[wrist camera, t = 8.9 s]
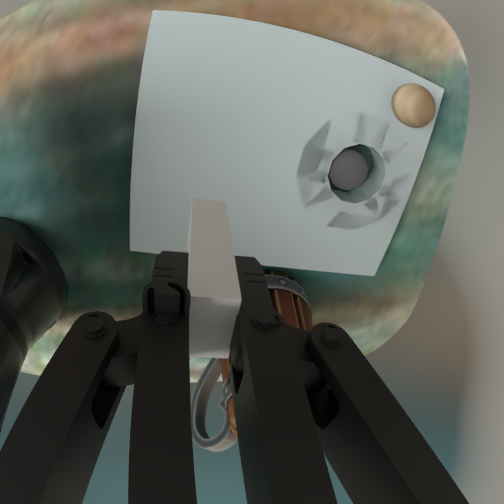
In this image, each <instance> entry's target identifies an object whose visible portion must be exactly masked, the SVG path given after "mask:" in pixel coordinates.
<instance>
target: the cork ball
mask: <svg viewBox="0 0 504 504" xmlns="http://www.w3.org/2000/svg"><path fill="white" fill-rule="evenodd" d="M391 105H392V110H393V113H394V115H395V116H396V118H397V119H398V120H399V121H400V122H401V123H403V124H404V125H406V126H408V127H411V128H421V127H424V126H426V125H428V124H429V123H430V122H431V121H432V119H433V118H434V115H435V111H436V105H435V101H434V99H433V97H432V95H431V93H430V92H429V91H428V90H427V89H426V88H424V87H423V86H421V85H418V84H414V83H408V84H404V85H402V86H400V87H398V88H397V89H396V91H395V92H394V94H393V96H392V101H391Z"/></svg>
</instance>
